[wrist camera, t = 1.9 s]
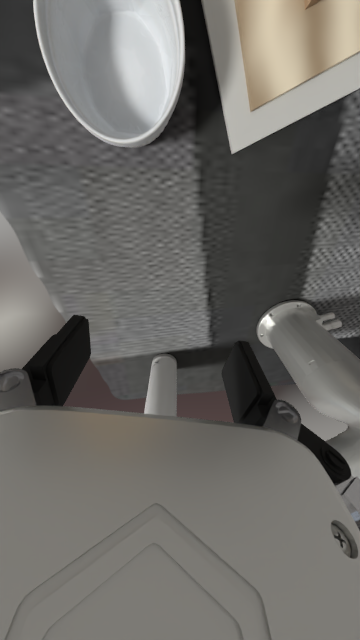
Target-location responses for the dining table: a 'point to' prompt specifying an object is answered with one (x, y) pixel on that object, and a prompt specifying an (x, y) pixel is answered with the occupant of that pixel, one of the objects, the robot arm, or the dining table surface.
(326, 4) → the oak lid
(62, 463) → the robot arm
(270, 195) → the dining table surface
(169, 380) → the travel mug
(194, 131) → the dining table surface
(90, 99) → the ramekin
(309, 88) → the rubber mat
